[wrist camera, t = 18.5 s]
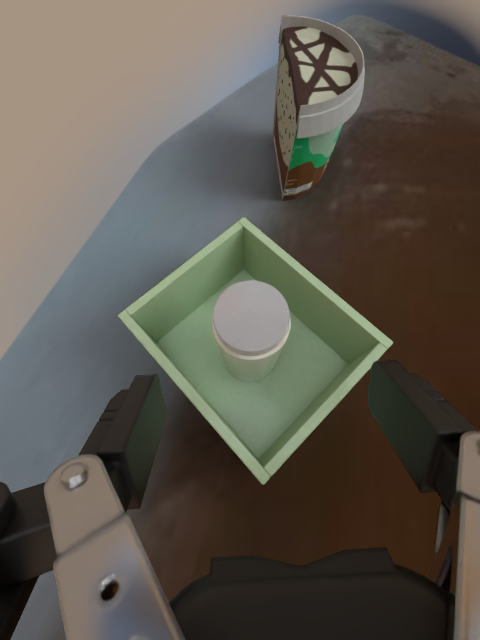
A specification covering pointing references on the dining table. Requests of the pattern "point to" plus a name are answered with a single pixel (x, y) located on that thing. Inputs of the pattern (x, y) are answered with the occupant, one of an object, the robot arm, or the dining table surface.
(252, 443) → the green open box
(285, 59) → the food container
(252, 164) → the dining table surface
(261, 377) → the grey cylindrical piece
